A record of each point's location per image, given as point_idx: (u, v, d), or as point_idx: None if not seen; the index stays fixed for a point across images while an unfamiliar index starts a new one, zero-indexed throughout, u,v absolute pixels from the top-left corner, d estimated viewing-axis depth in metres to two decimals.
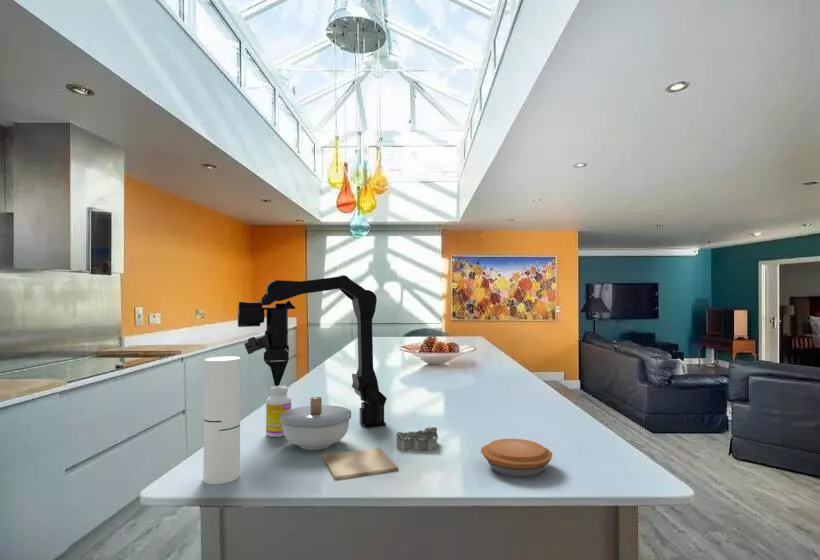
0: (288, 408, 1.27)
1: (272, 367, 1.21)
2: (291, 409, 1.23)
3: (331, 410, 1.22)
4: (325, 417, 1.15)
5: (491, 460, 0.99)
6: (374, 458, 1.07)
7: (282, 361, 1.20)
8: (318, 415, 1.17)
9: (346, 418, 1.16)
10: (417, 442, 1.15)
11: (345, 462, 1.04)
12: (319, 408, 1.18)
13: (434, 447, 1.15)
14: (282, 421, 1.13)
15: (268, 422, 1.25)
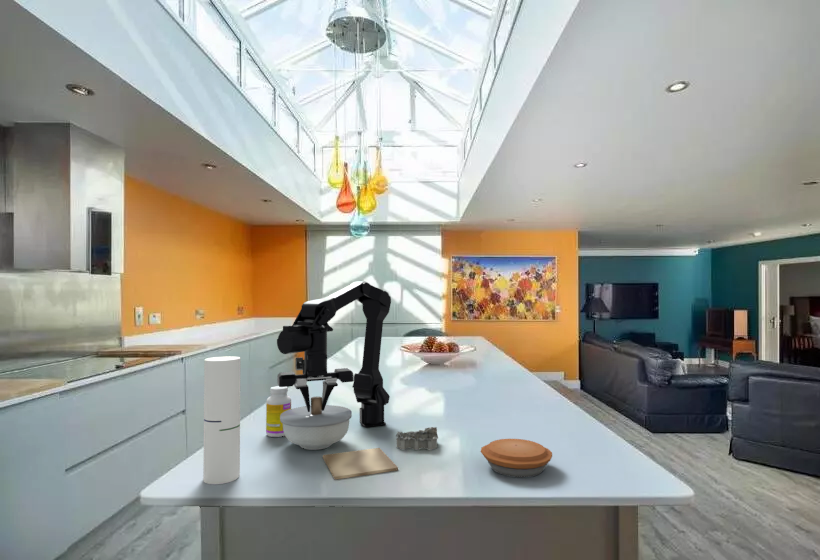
0: (288, 408, 1.27)
1: (301, 390, 1.19)
2: (291, 409, 1.24)
3: (331, 410, 1.22)
4: (325, 417, 1.15)
5: (491, 460, 0.99)
6: (374, 458, 1.07)
7: (296, 386, 1.16)
8: (318, 415, 1.17)
9: (346, 418, 1.16)
10: (417, 442, 1.15)
11: (345, 462, 1.04)
12: (319, 408, 1.18)
13: (434, 447, 1.15)
14: (282, 421, 1.14)
15: (268, 422, 1.25)
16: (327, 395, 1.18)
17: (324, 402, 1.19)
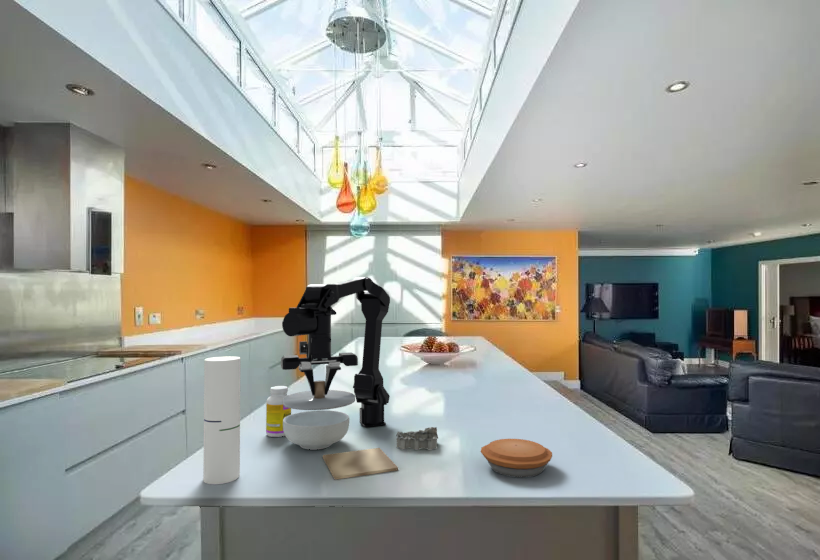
0: (288, 408, 1.27)
1: (305, 374, 1.18)
2: (295, 393, 1.22)
3: (335, 394, 1.21)
4: (328, 400, 1.14)
5: (491, 460, 0.99)
6: (374, 458, 1.07)
7: (300, 369, 1.15)
8: (321, 398, 1.16)
9: (349, 401, 1.14)
10: (417, 442, 1.15)
11: (345, 462, 1.04)
12: (322, 392, 1.17)
13: (434, 447, 1.15)
14: (285, 404, 1.12)
15: (268, 422, 1.25)
16: (330, 379, 1.17)
17: (327, 386, 1.17)
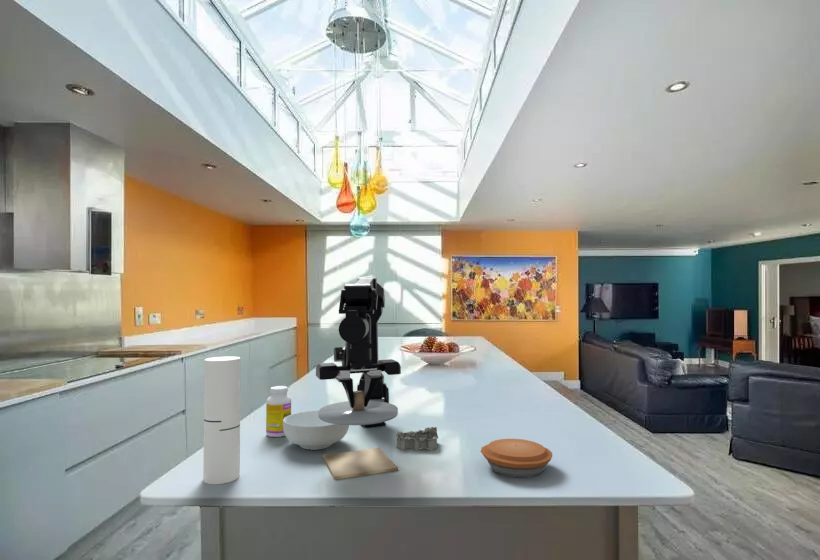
0: (288, 408, 1.27)
1: (343, 384, 1.06)
2: (329, 405, 1.10)
3: (374, 406, 1.09)
4: (370, 413, 1.02)
5: (491, 460, 0.99)
6: (374, 458, 1.07)
7: (338, 379, 1.03)
8: (362, 411, 1.04)
9: (394, 415, 1.02)
10: (417, 442, 1.15)
11: (345, 462, 1.04)
12: (362, 403, 1.05)
13: (434, 447, 1.16)
14: (322, 418, 1.00)
15: (268, 422, 1.25)
16: (371, 389, 1.05)
17: (367, 397, 1.05)
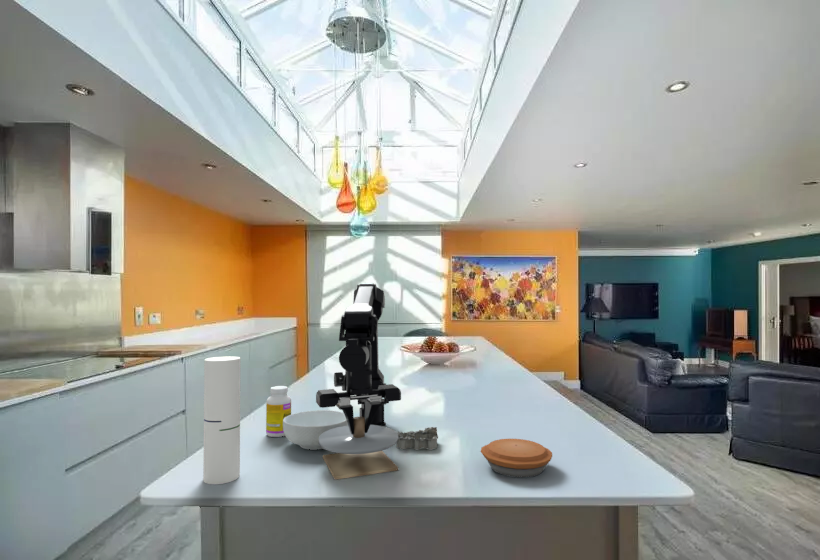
0: (288, 408, 1.27)
1: (343, 410, 1.06)
2: (329, 430, 1.10)
3: (375, 431, 1.09)
4: (371, 441, 1.02)
5: (491, 460, 0.99)
6: (374, 458, 1.07)
7: (338, 406, 1.03)
8: (362, 438, 1.04)
9: (394, 442, 1.02)
10: (417, 442, 1.15)
11: (345, 462, 1.04)
12: (363, 430, 1.05)
13: (434, 447, 1.16)
14: (323, 446, 1.00)
15: (268, 422, 1.25)
16: (371, 416, 1.05)
17: (368, 423, 1.05)
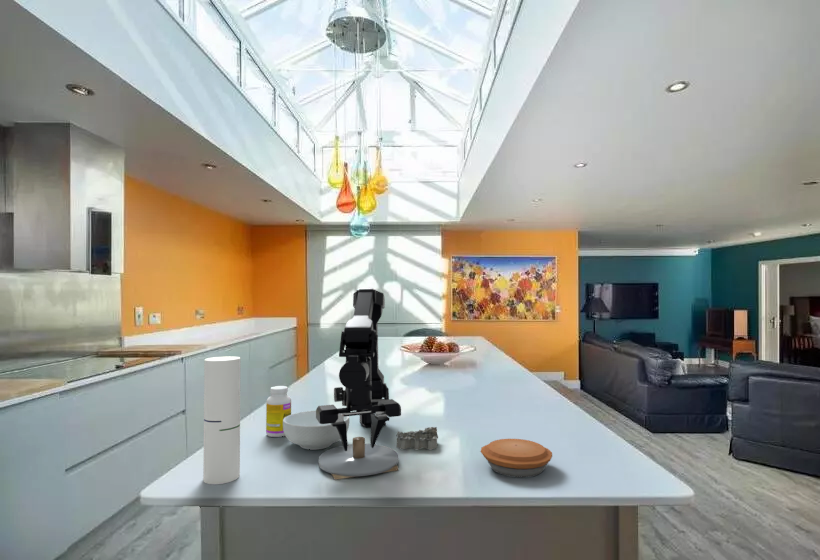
0: (288, 408, 1.27)
1: (337, 427, 1.05)
2: (329, 449, 1.10)
3: (375, 451, 1.09)
4: (371, 462, 1.02)
5: (491, 460, 0.99)
6: None
7: (332, 423, 1.02)
8: (362, 459, 1.04)
9: (394, 463, 1.02)
10: (417, 442, 1.15)
11: None
12: (363, 450, 1.05)
13: (434, 447, 1.16)
14: (323, 467, 1.00)
15: (268, 422, 1.25)
16: (378, 431, 1.05)
17: (374, 438, 1.05)
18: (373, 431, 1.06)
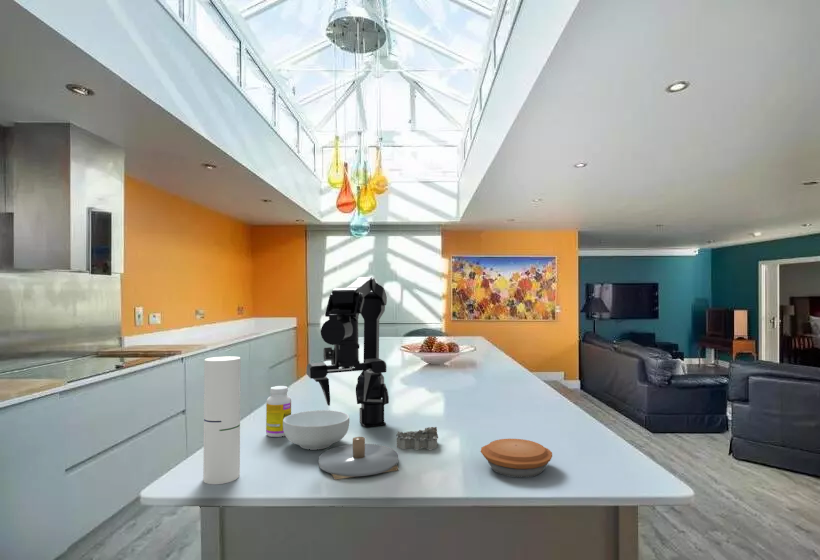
0: (288, 408, 1.27)
1: (320, 383, 1.12)
2: (329, 449, 1.10)
3: (375, 451, 1.09)
4: (371, 462, 1.02)
5: (491, 460, 0.99)
6: None
7: (315, 379, 1.09)
8: (362, 459, 1.04)
9: (394, 463, 1.02)
10: (417, 442, 1.15)
11: None
12: (363, 450, 1.05)
13: (434, 447, 1.16)
14: (323, 467, 1.00)
15: (268, 422, 1.25)
16: (370, 385, 1.13)
17: (367, 393, 1.14)
18: (366, 386, 1.14)
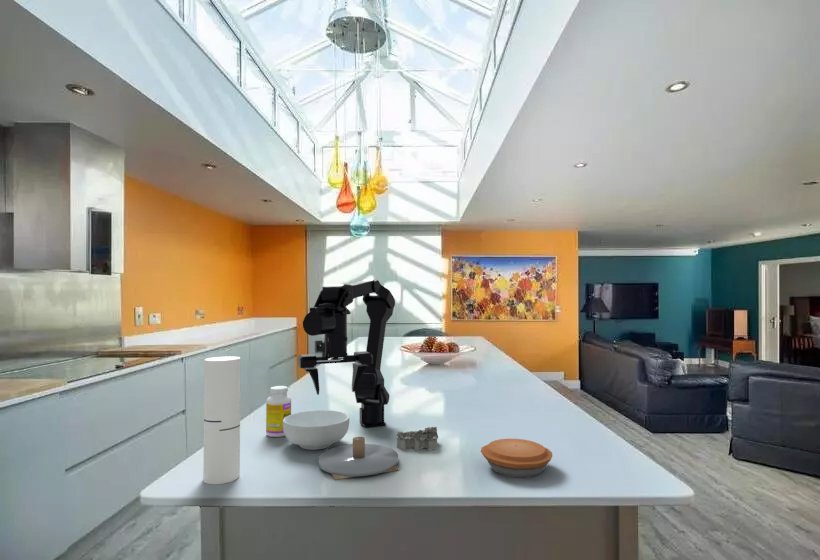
0: (288, 408, 1.27)
1: (310, 373, 1.19)
2: (329, 449, 1.10)
3: (375, 451, 1.09)
4: (371, 462, 1.02)
5: (491, 460, 0.99)
6: None
7: (305, 369, 1.16)
8: (362, 459, 1.04)
9: (394, 463, 1.02)
10: (418, 442, 1.15)
11: None
12: (363, 450, 1.05)
13: (434, 447, 1.16)
14: (323, 467, 1.00)
15: (268, 422, 1.25)
16: (358, 376, 1.20)
17: (355, 383, 1.20)
18: (354, 377, 1.21)
